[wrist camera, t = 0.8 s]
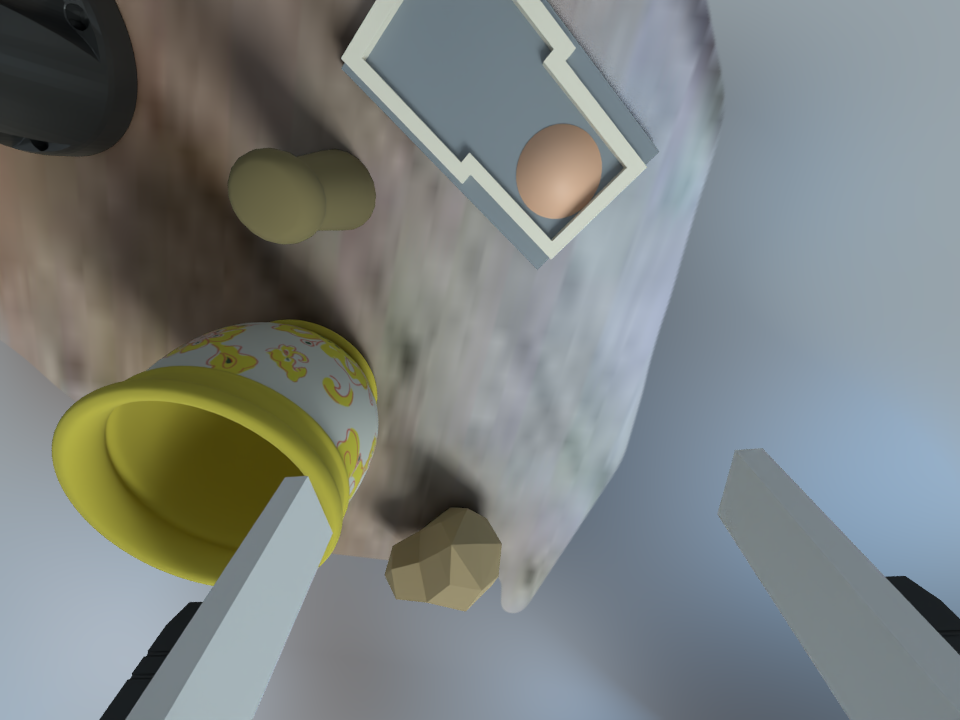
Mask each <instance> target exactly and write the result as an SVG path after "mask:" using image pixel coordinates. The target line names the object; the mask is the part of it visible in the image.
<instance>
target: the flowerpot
mask: <svg viewBox="0 0 960 720" xmlns="http://www.w3.org/2000/svg"><path fill="white" fill-rule="evenodd" d="M376 404H377V387H376V382H375V379H374V376H373V373H372V371H371V369H370V367H369V365H368V363H367V362H366V360H365V359H364V357H363V356H362V355H361V354H360V352H359V351H358V350H357V349H356V348H355V347H354V346H353V345H352V344H351V343H349V342H348V341H347V340H346V339H344V338H343V337H342V336H340V335H338V334H337V333H335V332H333V331H332V330H330V329H327V328H325V327H323V326H320V325H318V324H315V323H311V322H307V321H301V320H277V321H272V322H256V323H244V324H237V325H232V326H228V327H224V328H221V329H217V330H214V331H211V332H209V333H206V334H204V335H202V336H199V337H197V338H195V339H193V340H191V341H189V342H187V343H186V344H184V345H182V346H180V347H179V348H177V349H175V350H174V351H172V352H170V353H169V354H167V355H166V356H165V357H163V358H162V359H160V360H159V361H158V362H156V363H155V364H154V365H152V366H151V367H150V368H149V369H148V370H146V371H144V372H141V373H139V374H137V375H134V376H132V377H130V378H129V379H127V380H125V381H122V382H118V383H114V384H111V385H107V386H104V387H102V388H100V389H97V390H95V391H93V392H91V393H89V394H87V395H86V396H84V397H82V398H81V399H80V400H78V401H77V402H76V403H74V404H73V405H72V406H71V407H70V408H69V409H68V410H67V411H66V412H65V414H64V415H63V416H62V418H61V419H60V421H59V423H58V425H57V427H56V429H55V432H54V436H53V440H52V459H53V465H54V469H55V473H56V475H57V478H58V481H59V483H60V485H61V487H62V489H63V491H64V492H65V494H66V496H67V497H68V499H69V500H70V502H71V503H72V504H73V506H74V507H75V508H76V510H77V511H78V512H79V513H80V514H81V515H82V517H83V518H84V519H85V520H86V521H87V522H88V523H89V524H90V525H91V526H92V527H93V528H95V529H96V530H97V531H98V532H99V533H100V534H101V535H103V536H104V537H105V538H106V539H108V540H109V541H111V542H112V543H113V544H114V545H116V546H118V547H119V548H120V549H122V550H123V551H125V552H127V553H128V554H130V555H132V556H133V557H135V558H137V559H139V560H140V561H142V562H144V563H147V564H148V565H150V566H153V567H155V568H157V569H159V570H162V571H164V572H167V573H169V574H172V575H175V576H177V577H180V578H183V579H187V580H190V581H194V582H198V583H202V584H206V585H211V586H214V584H215V583H216V581H217V580H218V578H219V577H220V575H221V574H222V572H223V571H224V569H225V568H226V566H227V565H228V563H229V562H230V560H231V559H232V557H233V556H234V554H235V553H236V551H237V550H238V548H239V547H240V545H241V543H242V542H243V540H244V539H245V537H246V536H247V534H248V533H249V531H250V530H251V528H252V527H253V525H254V524H255V522H256V521H257V519H258V518H259V516H260V515H261V513H262V512H263V510H264V509H265V507H266V506H267V504H268V503H269V501H270V499H271V498H272V496H273V495H274V493H275V492H276V490H277V489H278V487H279V486H280V484H281V483H282V481H283V480H284V478H285V477H298V476H308V477H309V480H310V482H311V484H312V486H313V489H314V491H315V493H316V496H317V498H318V500H319V502H320V505H321V507H322V509H323V512H324V514H325V516H326V518H327V521H328V523H329V525H330V528H331V530H332V532H333V534H332V536H331V538H330V541H329V543H328V545H327V548H326V550H325V552H324V555H323V557H322V559H321V562H320V564H319V566H318V567H320V566H321V565H322V564H323V563H324V562H325V560H326V559H327V558H328V557H329V556H330V554H331V553H332V551H333V550H334V548H335V546H336V544H337V542H338V539H339V536H340V533H341V529H342V522H343V517H344V515H345V513H346V510H347V507H348V503H349V501H350V500H351V498H352V497H353V495H354V494H355V492H356V490H357V489H358V487H359V485H360V484H361V482H362V480H363V478H364V476H365V474H366V472H367V469H368V467H369V465H370V462H371V459H372V457H373V454H374V450H375V446H376V442H377V435H378V411H377V405H376Z"/></svg>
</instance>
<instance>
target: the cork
mask: <svg viewBox="0 0 960 720" xmlns="http://www.w3.org/2000/svg"><path fill="white" fill-rule="evenodd" d="M228 197H229V199H230V202H231V205H232V208H233V210H234V212H235V213H236V215H237V216H238V218H239V219H240V221H241V222H242V223H243V224H244V225H245V226H246V227H247V228H248V229H249V230H250V231H251V232H253V233H254V234H255V235H257V236H259V237H261V238H262V239H264V240H266V241H270V242H274V243H278V244H296V243H299V242H302V241H304V240H306V239H308V238H310V237H312V236H313V235H314V234H315V233H316V231H320V230H352V229H355V228H357V227H359V226H362V225H363V224H364V223H365V222H366V221H367V220H368V219H369V218H370V216H371V214H372V212H373V210H374V207H375V199H376V192H375V187H374V182H373V180H372V178H371V176H370V174H369V172H368V170H367V168H366V167H365V166H364V165H363V164H362V163H361V162H360V161H359V159H357V158H356V157H354V156H352V155H351V154H349V153H348V152H345V151H341V150H337V149H331V150H322V151H318V152H314V153H310V154H306V155H302V156H298V157H295V156H294V155H292V154H291V153H289V152H285V151H281V150H278V149H273V148H263V149H254V150H252V151H250V152H248V153H246V154H245V155H243V156H241V157H239V158H238V160H237V161H236V162H235V164H234V165H233V166H232V168H231V171H230V175H229V179H228Z"/></svg>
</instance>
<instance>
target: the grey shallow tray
mask: <svg viewBox="0 0 960 720" xmlns="http://www.w3.org/2000/svg"><path fill="white" fill-rule="evenodd" d="M341 59H342V60H343V61H344V62H345V63H344V65H343V66H342V68H341V69H342V70H343V71H344V72H345V73H346V74H347V75H348V76H349V77H350V78H351V79H352V80H353V81H354V82H355V83H356V84H357V85H358V86H359V87H360V88H361V89H362V90H363V91H364V92H365V93H366V94H367V95H368V96H369V97H370V98H371V99H372V100H373V101H374V102H375V103H376V104H377V105H378V107H379V108H380V109H381V110H382V111H383V112H384V113H385V114H386V115H387V116H388V117H389V118H390V119H391V120H392V121H393V122H394V123H395V124H396V125H397V126H398V127H399V128H400V129H401V130H402V131H403V132H404V133H405V134H406V135H407V136H408V137H409V138H410V139H411V140H412V141H413V142H414V143H415V145H416V146H417V147H418V148H419V149H420V150H421V151H422V152H423V153H424V154H425V155H426V156H427V157H428V158H429V159H430V160H431V161H432V162H433V163H434V164H435V165H436V166H437V167H438V168H439V169H440V170H441V171H442V172H443V173H444V174H445V175H446V176H447V177H448V178H449V179H450V180H451V181H452V182H453V184H454V185H455V186H456V187H457V188H458V189H459V190H460V191H461V192H462V193H463V194H464V195H465V196H466V197H467V198H468V199H469V200H470V201H471V202H472V203H473V204H474V205H475V206H476V207H477V208H478V209H479V210H480V211H481V212H482V213H483V214H484V215H485V216H486V217H487V218H488V219H489V220H490V221H491V223H492V224H493V225H494V226H495V227H496V228H497V229H498V230H499V231H500V232H501V233H502V234H503V235H504V236H505V237H506V238H507V239H508V240H509V241H510V242H511V243H512V244H513V245H514V246H515V247H516V248H517V249H518V250H519V251H520V252H521V253H522V254H523V255H524V256H525V257H526V258H527V259H528V260H529V262H530V263H531V264H532V265H533V266H534V267H535V268H536V269H537V270H538V269H539V268H540V267H541V266H542V265H543V264H544V263H545V262H546V261H547V260H548V259H549V258H550V259H552V258H553V257H554V256H555V255H556V254H557V253H558V252H559V251H560V250H562V249H563V248H564V247H565V246H566V245H567V244H568V243H569V242H570V241H571V240H572V239H573V238H574V237H575V236H576V235H577V234H578V233H579V232H580V231H581V230H582V229H583V228H584V227H585V226H586V225H587V224H588V223H590V222H591V221H592V220H593V219H594V218H595V217H596V216H597V215H598V214H599V213H600V212H601V211H602V210H603V209H604V208H605V207H606V206H607V205H608V204H609V203H610V202H611V201H612V200H613V199H614V198H615V197H616V196H618V195H619V194H620V193H621V192H622V191H623V190H624V189H625V188H626V187H627V186H628V185H629V184H630V183H631V182H632V181H633V180H634V179H635V178H636V177H637V176H638V175H639V174H640V173H641V172H642V171H643V170H644V169H646V168H647V166H646V164H647V163H648V162H649V161H650V160H651V159H652V158H653V157H654V156H655V155H656V154H657V153H658V152H659V150H658V149H657V148H656V146H655V145H654V144H653V142H652V141H651V140H650V138H649V137H648V136H647V134H646V133H645V132H644V130H643V129H642V128H641V126H640V125H639V124H638V122H637V121H636V120H635V118H634V117H633V116H632V114H631V113H630V112H629V110H628V109H627V108H626V106H625V105H624V103H623V102H622V101H621V99H620V98H619V97H618V95H617V94H616V93H615V91H614V90H613V89H612V87H611V86H610V85H609V83H608V82H607V81H606V79H605V78H604V77H603V75H602V74H601V73H600V71H599V70H598V69H597V67H596V66H595V65H594V63H593V62H592V61H591V59H590V58H589V57H588V55H587V54H586V52H585V51H584V50H583V48H582V47H581V46H580V44H579V43H578V42H577V40H576V39H575V38H574V36H573V35H572V34H571V32H570V31H569V30H568V28H567V27H566V26H565V24H564V23H563V22H562V20H561V19H560V18H559V16H558V15H557V14H556V12H555V11H554V10H553V8H552V7H551V6H550V4H549V3H548V2H547V0H376V1H375V3H374V4H373V6H372V8H371V9H370V11H369V13H368V14H367V16H366V18H365V19H364V21H363V23H362V24H361V26H360V28H359V29H358V31H357V33H356V34H355V36H354V38H353V39H352V41H351V43H350V44H349V46H348V48H347V49H346V51H345V53H344V54H343V56H342V58H341Z"/></svg>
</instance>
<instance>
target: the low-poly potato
mask: <svg viewBox="0 0 960 720" xmlns="http://www.w3.org/2000/svg"><path fill="white" fill-rule="evenodd" d="M501 546H502V543H501V542H500V540H499V538H498V537H497V535H496V533H495V532H494V530H493V528H492V527H491V525H490V523H489V522H488V520H487V519H486V518H485V517H483V516H481V515H479V514H477V513H475V512H473V511H472V510H470V509H468V508H451V507H450V508H449V509H448V510H446V511H445V512H444V513H442V514H441V515H440V516H438V517H437V518H436V519H435V520H433V521H432V522H431V523H429V524H428V525H427V526H425V527H424V528H423V529H422V530H420V531H419V532H417V533H415V534H413V535H411V536H410V537H408V538H406V539H404V540H403V541H401V542H399V543H397V544H395V545H394V546H393V547H392V551H391V554H390V558H389V561H388V565H387V568H386V572H385V576H386V579H387V581H388V583H389V585H390V587H391V589H392V591H393V593H394V595H395V598H396V599H400V600H409V601H418V602H427V603H431V604H436V605H440V606H444V607H449V608H453V609H457V610H461V611H467V610H468V609H469V608H470V607H471V606H472V605H473V604H474V603H475V601H477V600H478V598H480V597H481V596H482V595H483V594H484V592H485V591H486V590H488V589H489V588H490V587H491V586H492V584H493V583H494V582H495V580H496V579H497V577H498V574H499V565H500V556H501Z"/></svg>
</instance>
